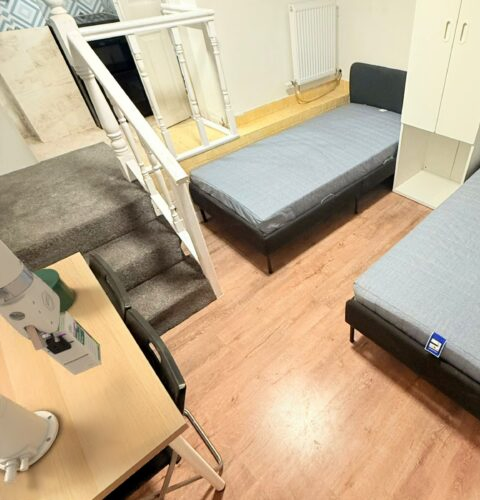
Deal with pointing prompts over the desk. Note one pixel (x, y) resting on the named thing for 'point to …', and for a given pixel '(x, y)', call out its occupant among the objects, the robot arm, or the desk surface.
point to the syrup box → (75, 346)
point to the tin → (64, 295)
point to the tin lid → (48, 276)
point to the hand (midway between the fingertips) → (63, 337)
